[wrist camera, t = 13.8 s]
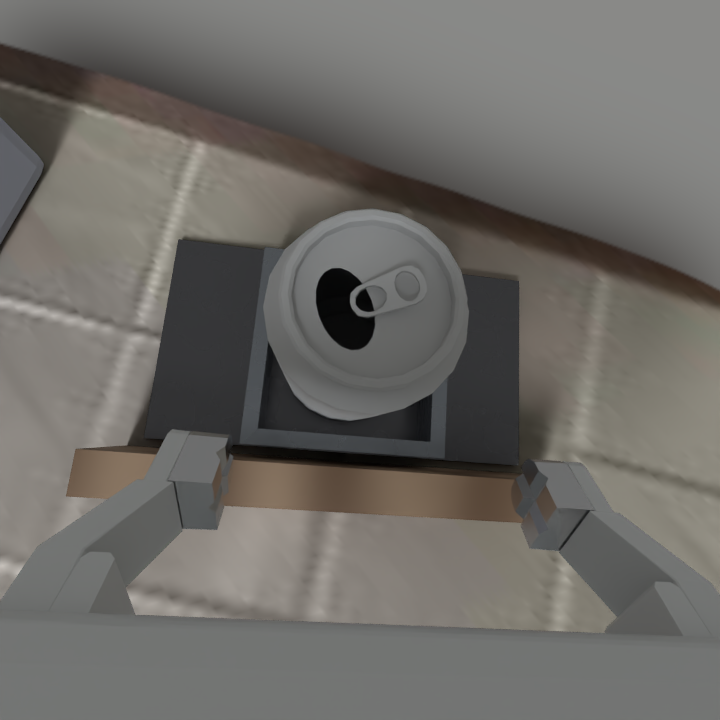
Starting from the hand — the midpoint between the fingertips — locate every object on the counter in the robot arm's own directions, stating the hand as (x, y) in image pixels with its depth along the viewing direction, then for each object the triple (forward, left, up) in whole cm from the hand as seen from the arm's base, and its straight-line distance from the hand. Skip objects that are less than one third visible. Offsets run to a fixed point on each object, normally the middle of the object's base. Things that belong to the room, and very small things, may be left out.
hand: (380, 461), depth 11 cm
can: (0, -5, -13) cm, 14 cm away
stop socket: (0, -5, -13) cm, 14 cm away
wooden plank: (0, +2, -13) cm, 13 cm away
